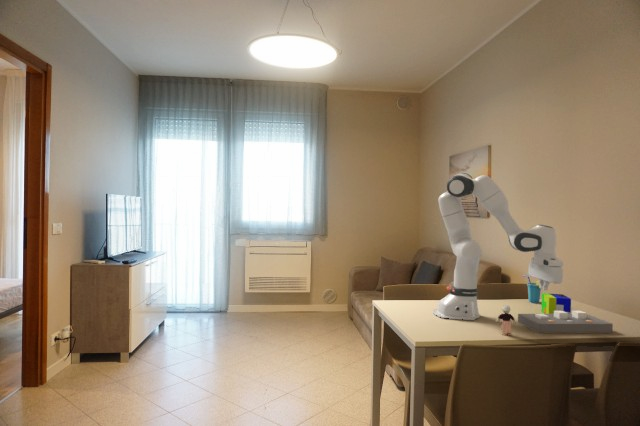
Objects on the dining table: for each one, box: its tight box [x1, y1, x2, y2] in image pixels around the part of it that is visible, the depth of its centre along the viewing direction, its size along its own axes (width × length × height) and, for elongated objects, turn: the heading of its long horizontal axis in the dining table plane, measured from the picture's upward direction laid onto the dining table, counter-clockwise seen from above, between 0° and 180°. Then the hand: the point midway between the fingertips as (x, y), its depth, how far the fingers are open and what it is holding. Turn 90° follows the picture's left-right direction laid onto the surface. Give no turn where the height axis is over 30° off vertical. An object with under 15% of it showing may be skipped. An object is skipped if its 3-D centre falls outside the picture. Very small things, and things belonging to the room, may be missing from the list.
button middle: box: [554, 311, 568, 319], centre depth 183 cm, size 4×4×3 cm
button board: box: [517, 313, 614, 334], centre depth 181 cm, size 34×16×4 cm, turn 93°
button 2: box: [571, 310, 587, 319], centre depth 183 cm, size 4×4×3 cm
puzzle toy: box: [541, 292, 572, 314], centre depth 201 cm, size 10×10×10 cm
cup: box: [522, 274, 542, 304], centre depth 229 cm, size 14×8×15 cm, turn 24°
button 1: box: [534, 313, 549, 319], centre depth 182 cm, size 4×4×3 cm
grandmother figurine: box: [495, 304, 517, 336], centre depth 169 cm, size 8×4×13 cm, turn 92°
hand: (543, 289), depth 182 cm, fingers closed
